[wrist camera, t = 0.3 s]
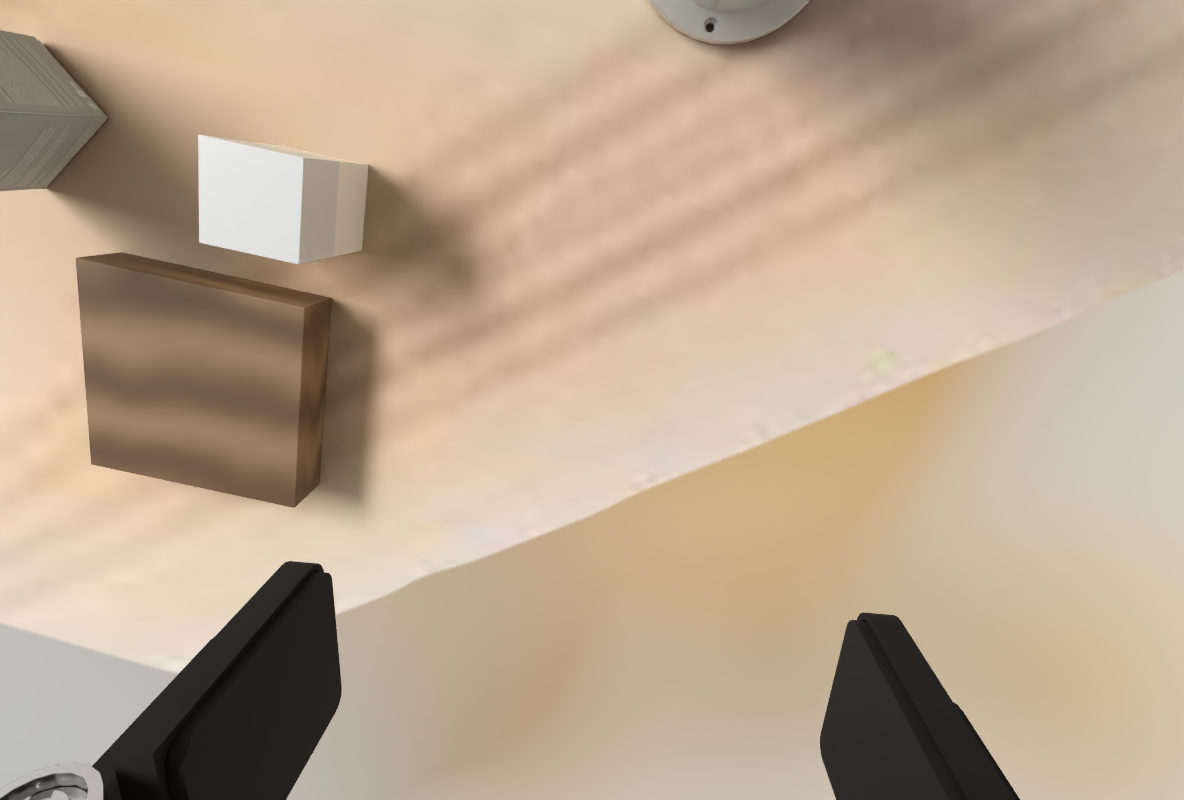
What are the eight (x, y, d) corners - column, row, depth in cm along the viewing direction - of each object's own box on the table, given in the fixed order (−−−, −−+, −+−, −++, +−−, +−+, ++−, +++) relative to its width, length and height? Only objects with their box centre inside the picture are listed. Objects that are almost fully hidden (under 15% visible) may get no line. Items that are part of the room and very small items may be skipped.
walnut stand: (121, 252, 46) (75, 257, 42) (331, 298, 46) (304, 307, 42) (131, 443, 51) (91, 464, 47) (319, 484, 51) (294, 507, 47)
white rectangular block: (284, 146, 43) (198, 134, 34) (368, 164, 43) (303, 157, 34) (281, 232, 44) (198, 242, 36) (361, 250, 45) (298, 264, 36)
